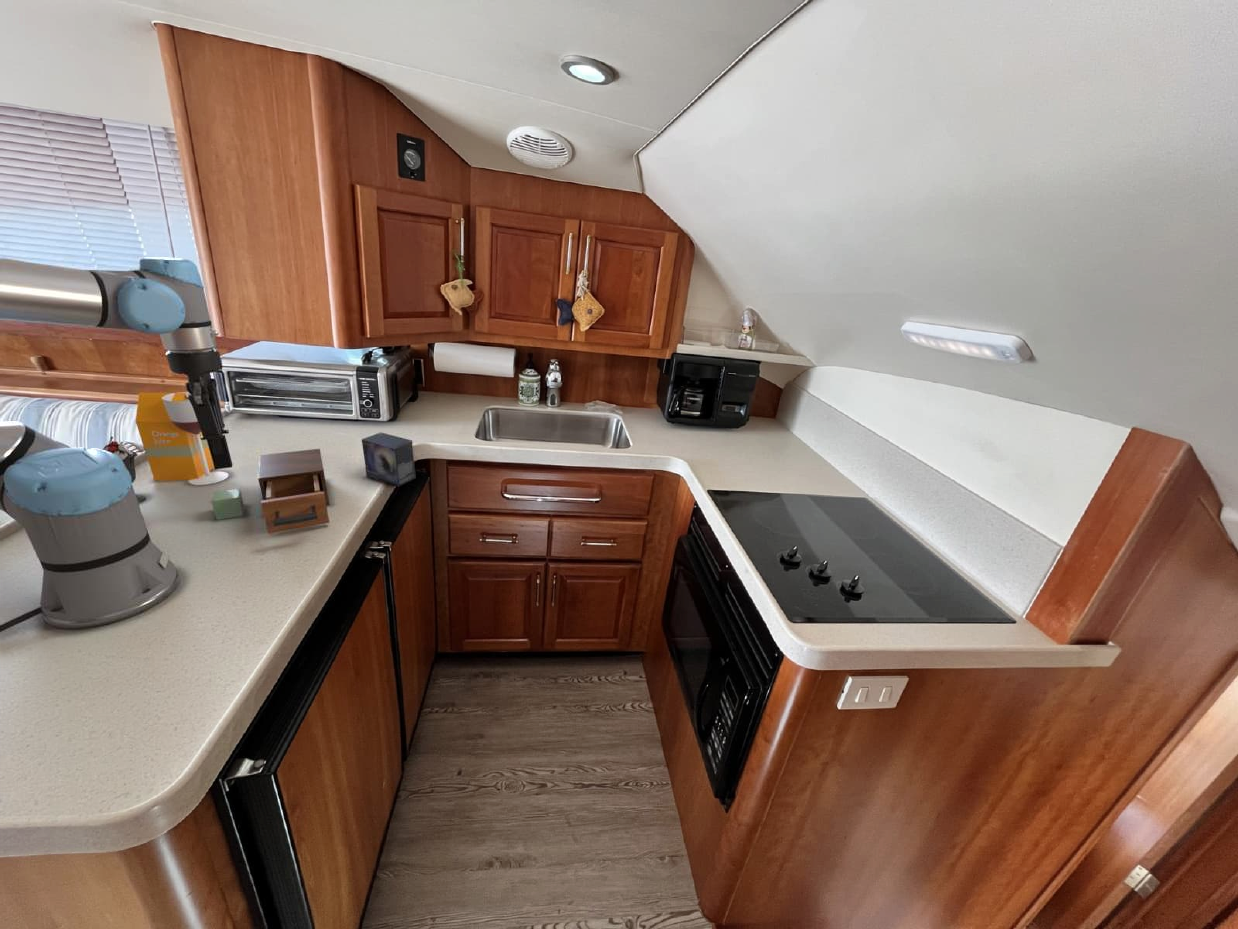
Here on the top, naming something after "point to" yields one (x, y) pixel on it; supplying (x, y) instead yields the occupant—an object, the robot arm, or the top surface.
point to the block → (228, 504)
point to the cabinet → (291, 468)
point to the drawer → (294, 504)
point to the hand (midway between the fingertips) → (223, 466)
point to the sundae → (124, 460)
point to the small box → (389, 458)
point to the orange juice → (169, 441)
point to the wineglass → (187, 421)
